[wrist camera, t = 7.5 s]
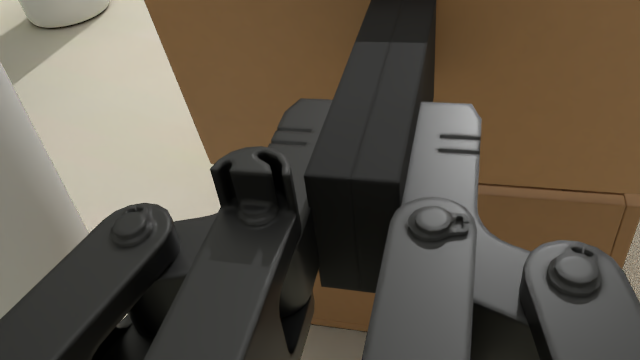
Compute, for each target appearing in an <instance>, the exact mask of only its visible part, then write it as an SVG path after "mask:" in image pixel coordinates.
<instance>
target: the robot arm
mask: <svg viewBox="0 0 640 360" xmlns="http://www.w3.org/2000/svg"><path fill="white" fill-rule="evenodd" d="M435 35H436V0H371V1H370V4H369V7H368V9H367V12H366V14H365V17H364V20H363V22H362V25H361V27H360V30H359V33H358V35H357V38H356V41H355V43H354V46H353V48H352V51H351V54H350V56H349V59H348V61H347V64H346V67H345V69H344V72H343V74H342V77H341V80H340V82H339V85H338V87H337V90H336V93H335V95H334V98H333V100H330V99H306V98H300V99H299V100H298V101H297V102H296V103H294V104H293V105H292V106H291V107H290V108H288V109H287V110H286V111H285V112H284V114H283V116H282V118H281V120H280V122H279V125H278V127H277V131H275V133H274V135H273V137H272V139H271V144H270V143H269V145H268V147H263V146H257V147H245V148H242V149H239V150H235V151H232V152H230V153H228V154H227V155H225V156H223V157H222V158H220V159H218V161H217V162H216V163H215V164H214V165H213V166H212V168H211V169H210V171H211V174H212V177H213V181H214V184H215V188H216V191H217V194H218V198H219V201H220V205H221V208H220V210H219V212H218V213H216V214H214V215H210V216H205V217H200V218H194V219H188V220H181V221H175V222H173V220H172V218H171V216H170V214H169V212H168V210H166V209H164V208H163V207H161V206H159V205H157V204H149V203H141V204H135V205H129V206H127V207H124V208H122V209H120V210H117V211H115V212H114V213H112V214H111V215H110V216H108V217H107V218H105V219H104V220H103V221H102V222H101V223H100V224H99V225H98V226H97V227H96V228H94V229H93V230H92V231H91V232H90V233H89V234H88V235H87V236H86V237H85V238H84V239H83V240H82V241H81V242H80V243H79V244H78V245H77V246H76V247H75V248H74V249H73V250H72V251H71V252H70V253H69V254H67V255H66V256H65V257H64V258H63V259H62V260H61V261H60V262H59V263H58V264H57V265H56V266H55V267H54V268H53V269H52V270H51V271H50V272H49V273H48V274H47V275H46V276H45V277H44V278H43V279H41V280H40V281H39V282H38V283H37V284H36V285H35V286H34V287H33V288H32V289H31V290H30V291H29V292H28V293H27V294H26V295H25V296H24V297H23V298H22V299H21V300H20V301H19V302H18V303H17V304H15V305H14V306H13V307H12V308H11V309H10V310H9V311H8V312H7V313H6V314H5V315H4V316H3V317H2V318H1V319H0V360H300V359H301V356H302V352H303V349H304V345H305V342H306V338H307V335H308V331H309V328H310V324H311V321H312V317H313V314H314V304H315V300H314V295H313V286H314V283H315V279H316V276H317V273H318V269H319V275H320V282H321V287H328V288H336V289H345V290H353V291H361V292H369V293H375V298H374V302H373V307H372V312H371V317H370V322H369V327H368V332H367V336H366V341H365V346H364V351H363V356H362V360H640V302H639V300H638V298H637V296H636V294H635V292H634V291H633V289H632V287H631V285H630V283H629V281H628V279H627V277H626V275H625V273H624V271H623V270H622V269H621V268H620V266H619V265H618V264H617V263H616V261H615V260H614V259H613V258H612V257H611V256H609V255H608V254H606V253H605V252H603V251H602V250H600V249H599V248H597V247H594V246H591V245H588V244H585V243H582V242H579V241H568V240H557V241H552V242H548V243H543V244H541V245H540V246H538V247H537V248H535V249H534V250H533V251H528V250H525V249H523V248H520V247H517V246H514V245H512V244H509V243H507V242H505V241H503V240H501V239H499V238H498V237H496V236H495V235H493V234H492V233H491V232H490V231H489V230H488V229H487V228H486V227H485V226H484V225H483V223H482V221H481V219H480V217H479V215H478V208H477V201H478V182H479V162H480V143H481V123H482V119H481V118H480V116H479V114H478V113H477V111H476V110H475V108H474V107H473V105H472V104H466V103H442V102H433V98H434V72H435ZM126 314H128V315H127V316H126V317H125V318H124V316H125V315H126ZM123 318H124V319H123ZM122 319H123V320H122ZM121 320H122V321H121Z"/></svg>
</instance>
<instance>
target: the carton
mask: <svg viewBox="0 0 640 360" xmlns="http://www.w3.org/2000/svg"><path fill="white" fill-rule="evenodd" d="M477 208H478V215H479V217H480V219H481V221H482V223H483V225H484V226H485V227H486V228H487V229H488V230H489V231H490V232H491V233H492V234H493V235H495V236H496V237H498V238H499V239H501V240H503V241H505V242H507V243H509V244H512V245H514V246H517V247H520V248H523V249H525V250H528V251H533V250H534V249H535V248H537V247H538V246H540V245H541V244H543V243H548V242H552V241H557V240H568V241H579V242H582V243H585V244H588V245H591V246H594V247H597V248H599V249H600V250H602V251H603V252H605V253H606V254H608V255H609V256H611V257H612V258H613V259H614V260H615V261H616V263H617V264H618V265H619V266H620V268H621V269H622V268H623V265H624V262H625V260H626V257H627V254H628V251H629V248H630V245H631V243H632V240H633V237H634V234H635V231H636V228H637V225H638V223H639V220H640V195H639V194H625V193H611V192H597V191H584V190H570V189H556V188H542V187H528V186H514V185H500V184H486V183H478V201H477ZM313 295H314V300H315V304H314V314H313V317H312V321H311V324H315V325H322V326H330V327H337V328H344V329H352V330H359V331H366V332H368V327H369V322H370V317H371V312H372V307H373V302H374V298H375V293H369V292H361V291H353V290H345V289H336V288H328V287H321V282H320V275H319V269H318V273H317V276H316V279H315V283H314V286H313Z"/></svg>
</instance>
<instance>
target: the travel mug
mask: <svg viewBox="0 0 640 360" xmlns="http://www.w3.org/2000/svg"><path fill="white" fill-rule="evenodd" d="M88 234H89V232H88V230H87V229H86V227H85V225H84V223H83V221H82V219H81V217H80V215H79V213H78V211H77V209H76V207H75V205H74V203H73V201H72V199H71V197H70V196H69V194H68V192H67V190H66V188H65V186H64V184H63V182H62V180H61V178H60V176H59V174H58V172H57V170H56V168H55V166H54V164H53V162H52V161H51V159H50V157H49V155H48V153H47V151H46V149H45V147H44V145H43V143H42V141H41V139H40V137H39V135H38V133H37V131H36V129H35V128H34V126H33V124H32V122H31V120H30V118H29V116H28V114H27V112H26V110H25V108H24V106H23V104H22V102H21V100H20V98H19V96H18V94H17V93H16V91H15V89H14V87H13V85H12V83H11V81H10V79H9V77H8V75H7V73H6V71H5V69H4V67H3V65H2V63H1V61H0V319H1V318H2V317H3V316H4V315H5V314H6V313H7V312H8V311H9V310H10V309H11V308H12V307H13V306H14V305H15V304H17V303H18V302H19V301H20V300H21V299H22V298H23V297H24V296H25V295H26V294H27V293H28V292H29V291H30V290H31V289H32V288H33V287H34V286H35V285H36V284H37V283H38V282H39V281H40V280H41V279H43V278H44V277H45V276H46V275H47V274H48V273H49V272H50V271H51V270H52V269H53V268H54V267H55V266H56V265H57V264H58V263H59V262H60V261H61V260H62V259H63V258H64V257H65V256H66V255H67V254H69V253H70V252H71V251H72V250H73V249H74V248H75V247H76V246H77V245H78V244H79V243H80V242H81V241H82V240H83V239H84V238H85V237H86V236H87V235H88Z"/></svg>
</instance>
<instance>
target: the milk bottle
mask: <svg viewBox="0 0 640 360" xmlns="http://www.w3.org/2000/svg"><path fill="white" fill-rule="evenodd" d="M19 2H20V4H21V6H22V8H23V10H24V12H25V14H26V16H27V18H28V20H29V21H30V22H31V23H33V24H34V25H36V26H39V27H45V28H53V27H63V26H68V25H72V24H76V23H79V22H83V21H85V20H88V19H90V18H92V17H94V16H96V15H98V14H99V13H101V12H102V11H103V10H105V9H106V7H107V6H108V4H109V0H19Z"/></svg>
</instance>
